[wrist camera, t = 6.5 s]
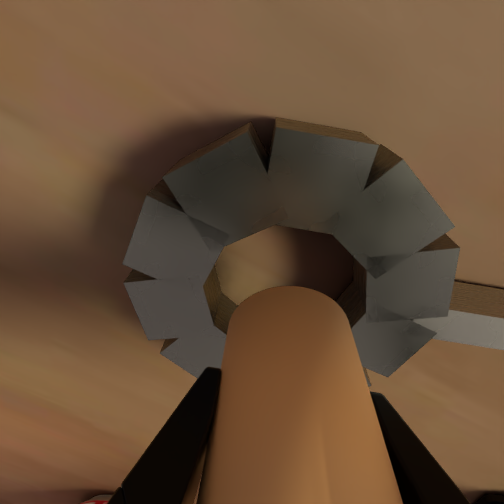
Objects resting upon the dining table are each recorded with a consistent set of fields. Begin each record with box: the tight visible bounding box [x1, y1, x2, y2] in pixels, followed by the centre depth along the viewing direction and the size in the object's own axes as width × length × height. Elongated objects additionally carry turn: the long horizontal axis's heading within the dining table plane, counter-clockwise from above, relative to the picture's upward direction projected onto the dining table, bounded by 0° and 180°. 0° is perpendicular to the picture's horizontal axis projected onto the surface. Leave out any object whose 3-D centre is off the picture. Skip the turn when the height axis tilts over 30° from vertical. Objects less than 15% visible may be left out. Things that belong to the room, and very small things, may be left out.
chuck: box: [123, 117, 504, 387], centre depth 13 cm, size 12×22×3 cm, turn 81°
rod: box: [197, 286, 403, 504], centre depth 7 cm, size 4×4×8 cm
